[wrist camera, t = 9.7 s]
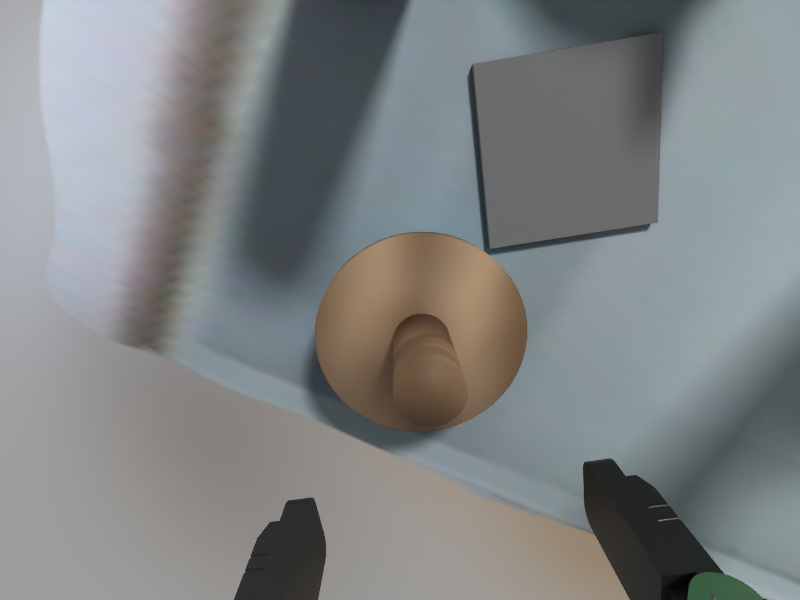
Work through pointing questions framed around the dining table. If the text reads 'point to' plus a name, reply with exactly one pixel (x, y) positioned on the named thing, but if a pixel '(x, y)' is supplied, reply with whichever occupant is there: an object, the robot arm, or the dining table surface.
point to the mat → (570, 139)
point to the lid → (420, 332)
